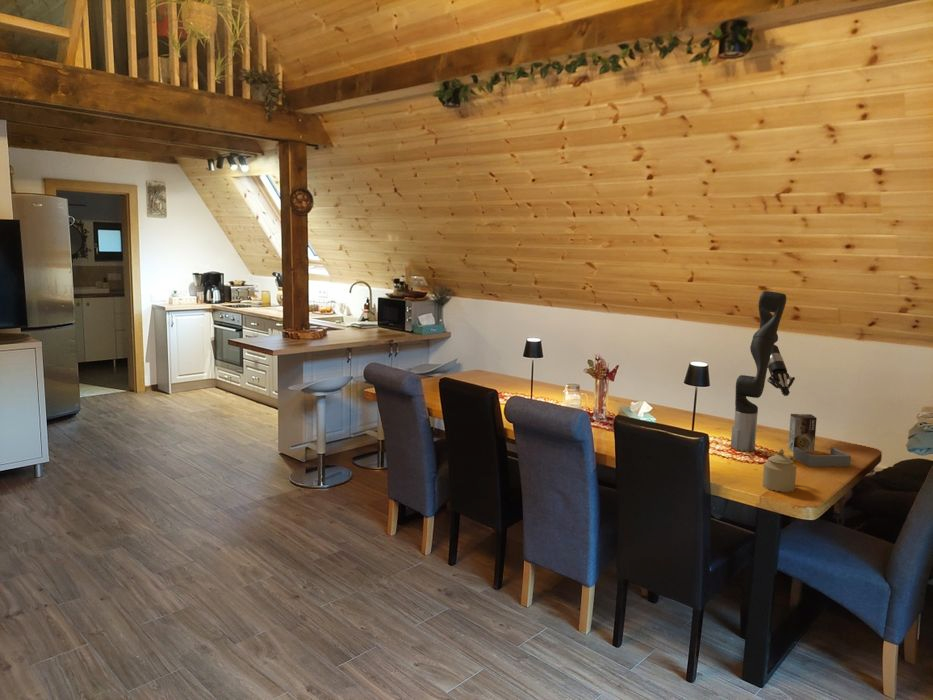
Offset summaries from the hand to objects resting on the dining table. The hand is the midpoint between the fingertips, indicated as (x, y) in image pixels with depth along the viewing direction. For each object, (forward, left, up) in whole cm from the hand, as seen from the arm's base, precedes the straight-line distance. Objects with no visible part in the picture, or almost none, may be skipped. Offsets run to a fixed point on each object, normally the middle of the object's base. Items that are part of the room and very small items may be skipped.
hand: (786, 395), depth 309 cm
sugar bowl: (-33, -61, -22) cm, 73 cm away
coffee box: (0, -16, -22) cm, 27 cm away
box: (0, -32, -22) cm, 39 cm away
